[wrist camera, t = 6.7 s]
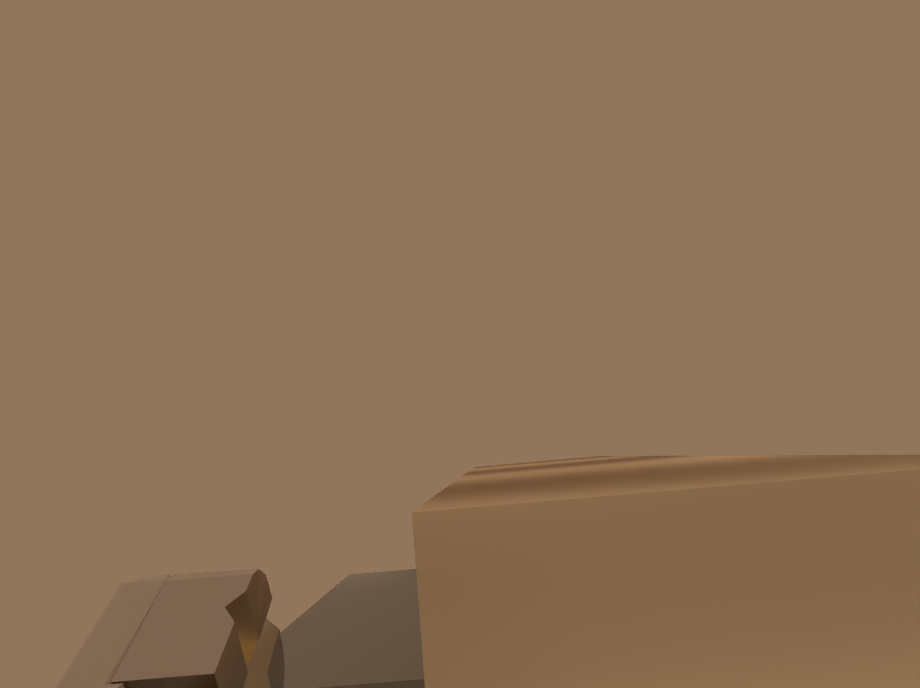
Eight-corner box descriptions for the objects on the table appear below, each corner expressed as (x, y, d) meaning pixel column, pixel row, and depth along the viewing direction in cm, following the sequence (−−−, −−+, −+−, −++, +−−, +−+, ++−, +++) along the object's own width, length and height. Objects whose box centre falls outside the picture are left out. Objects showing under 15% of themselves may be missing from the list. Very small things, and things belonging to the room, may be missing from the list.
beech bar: (484, 567, 22) (476, 465, 23) (602, 558, 22) (591, 456, 23) (462, 1175, 3) (412, 512, 4) (1236, 1126, 3) (1093, 453, 4)
